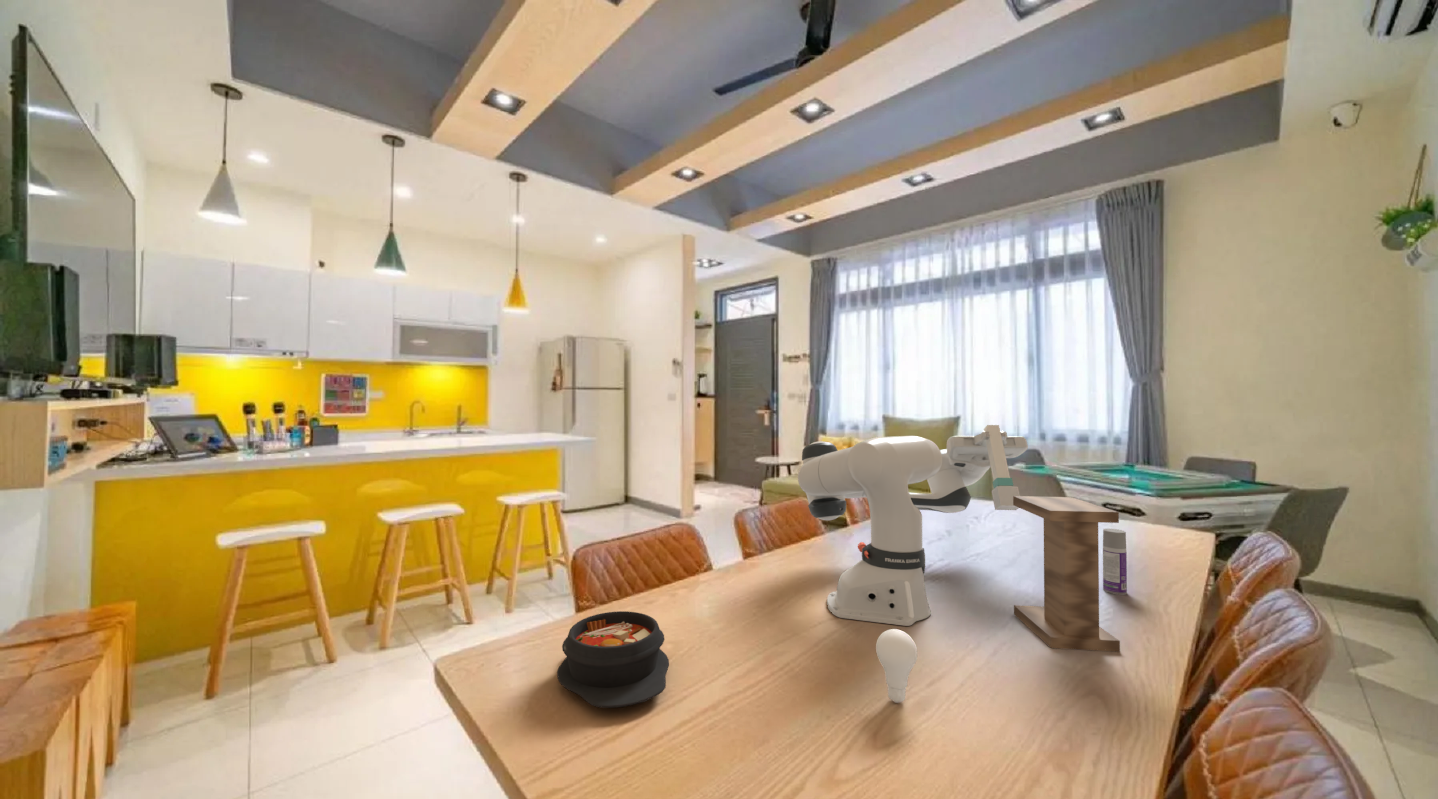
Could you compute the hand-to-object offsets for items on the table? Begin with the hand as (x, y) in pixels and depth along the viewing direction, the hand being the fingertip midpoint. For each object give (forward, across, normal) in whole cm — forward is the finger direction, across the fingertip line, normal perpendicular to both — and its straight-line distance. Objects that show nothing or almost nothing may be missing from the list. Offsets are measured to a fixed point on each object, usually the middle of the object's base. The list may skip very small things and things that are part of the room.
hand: (995, 433), depth 139 cm
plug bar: (-4, 0, -8) cm, 9 cm away
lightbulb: (+36, +39, -65) cm, 84 cm away
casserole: (+34, +85, -64) cm, 112 cm away
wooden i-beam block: (+10, 0, -50) cm, 51 cm away
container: (-13, -25, -37) cm, 46 cm away
